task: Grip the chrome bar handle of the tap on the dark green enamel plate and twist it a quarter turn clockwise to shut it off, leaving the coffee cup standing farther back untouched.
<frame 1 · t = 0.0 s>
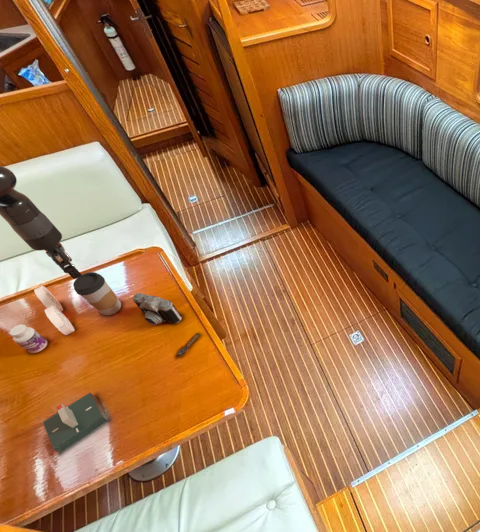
hand: (73, 269, 118), 23 cm above the table, tool pointing down, fingers open, 8 cm apart
can opener: (189, 345, 127), on the table
camera: (160, 318, 134), on the table
tap plate: (79, 423, 110), on the table
pill bottle: (39, 346, 126), on the table
tap handle: (66, 415, 106), point 5 cm above the table, hinge at 90.0°
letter: (64, 319, 134), on the table
coffee cup: (112, 308, 137), on the table
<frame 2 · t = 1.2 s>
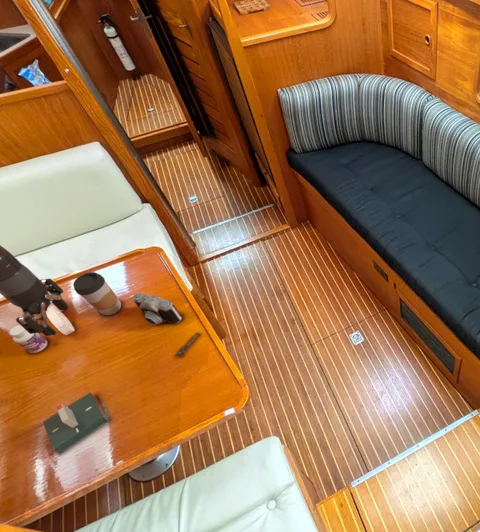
hand: (58, 321, 109), 20 cm above the table, tool pointing down, fingers open, 8 cm apart
nothing on the table moved.
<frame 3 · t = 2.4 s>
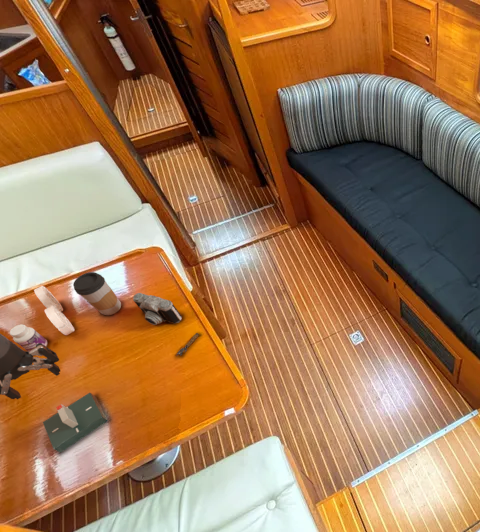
hand: (38, 384, 99), 18 cm above the table, tool pointing down, fingers open, 8 cm apart
nothing on the table moved.
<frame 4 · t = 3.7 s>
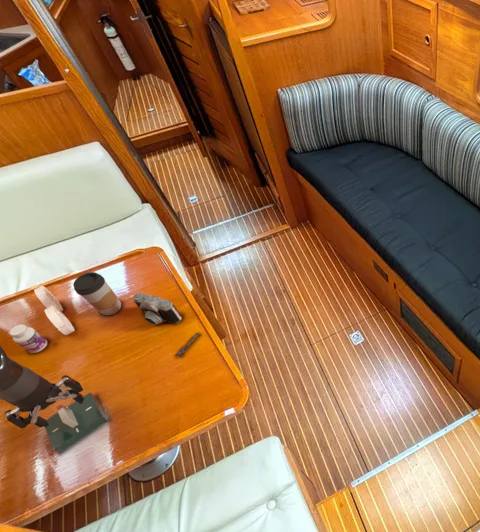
hand: (64, 412, 105), 7 cm above the table, tool pointing down, fingers open, 8 cm apart
nothing on the table moved.
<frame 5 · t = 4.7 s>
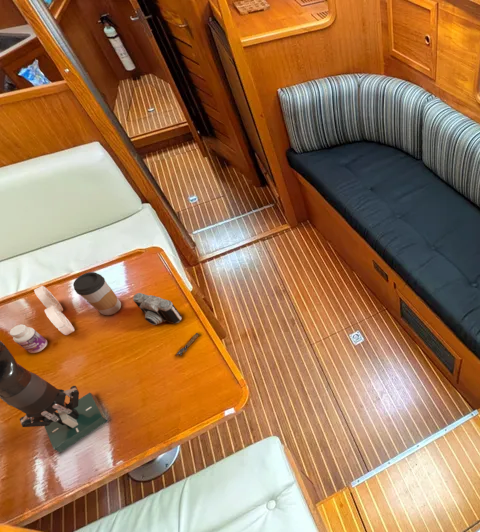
hand: (71, 419, 108), 3 cm above the table, tool pointing down, fingers closed
tap handle: (66, 415, 106), point 5 cm above the table, hinge at 90.0°, touching gripper
everything else where it was.
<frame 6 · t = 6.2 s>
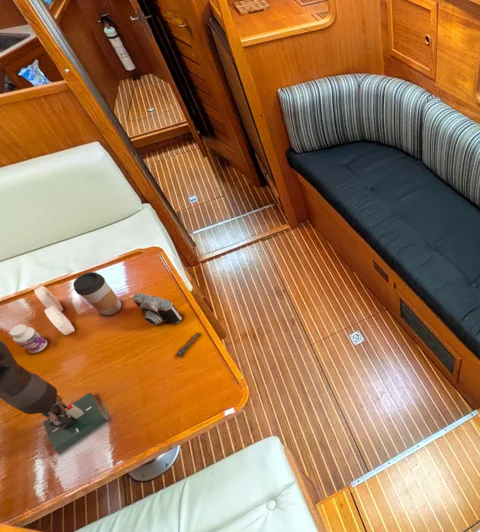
hand: (71, 419, 107), 3 cm above the table, tool pointing down, fingers open, 3 cm apart
tap handle: (66, 415, 106), point 5 cm above the table, hinge at 0.2°
everything else where it was.
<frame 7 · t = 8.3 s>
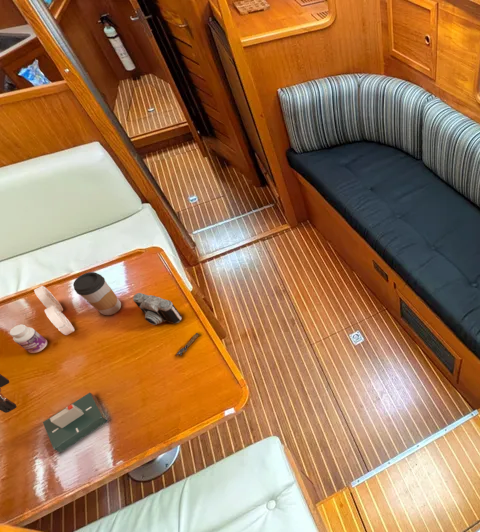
hand: (8, 396, 93), 22 cm above the table, tool pointing down, fingers open, 8 cm apart
nothing on the table moved.
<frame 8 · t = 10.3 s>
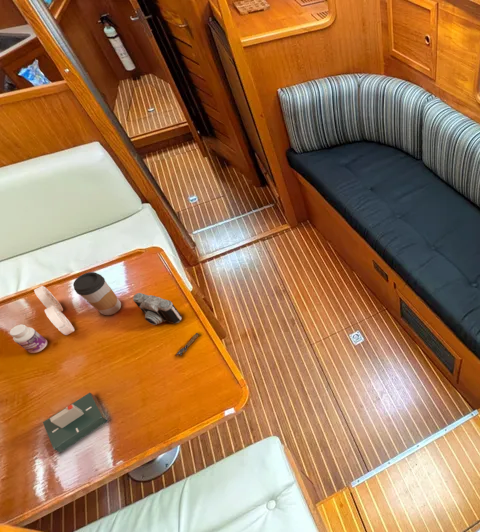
nothing on the table moved.
at the end: tap handle at +0° (first picture: +90°); coffee cup moved 0.2 cm from its start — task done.
